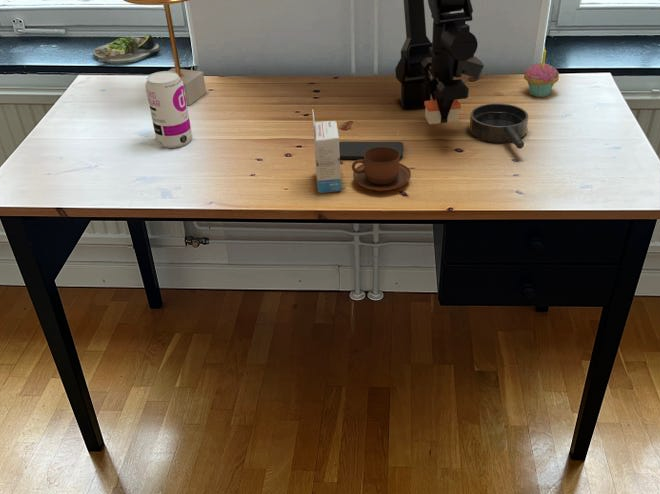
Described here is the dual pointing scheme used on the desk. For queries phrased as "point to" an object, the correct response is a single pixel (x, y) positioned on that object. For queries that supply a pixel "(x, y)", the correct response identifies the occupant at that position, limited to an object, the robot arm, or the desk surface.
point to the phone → (365, 148)
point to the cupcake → (541, 78)
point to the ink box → (327, 156)
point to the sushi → (434, 114)
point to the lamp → (190, 78)
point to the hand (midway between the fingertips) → (441, 115)
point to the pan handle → (514, 137)
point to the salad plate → (127, 50)
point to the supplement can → (168, 109)
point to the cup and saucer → (381, 170)
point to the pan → (497, 122)
